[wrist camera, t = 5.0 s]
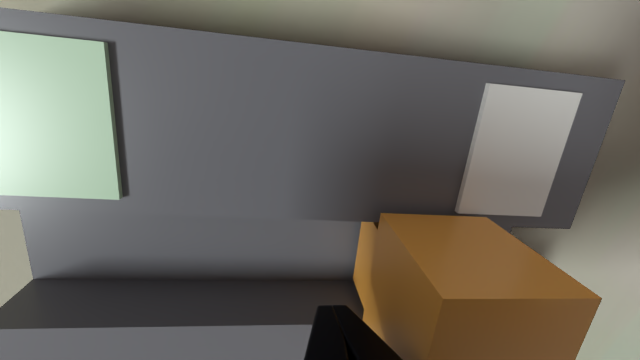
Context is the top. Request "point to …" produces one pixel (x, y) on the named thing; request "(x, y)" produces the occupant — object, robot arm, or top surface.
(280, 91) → the breaker block
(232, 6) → the top surface
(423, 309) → the handle
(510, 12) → the top surface
